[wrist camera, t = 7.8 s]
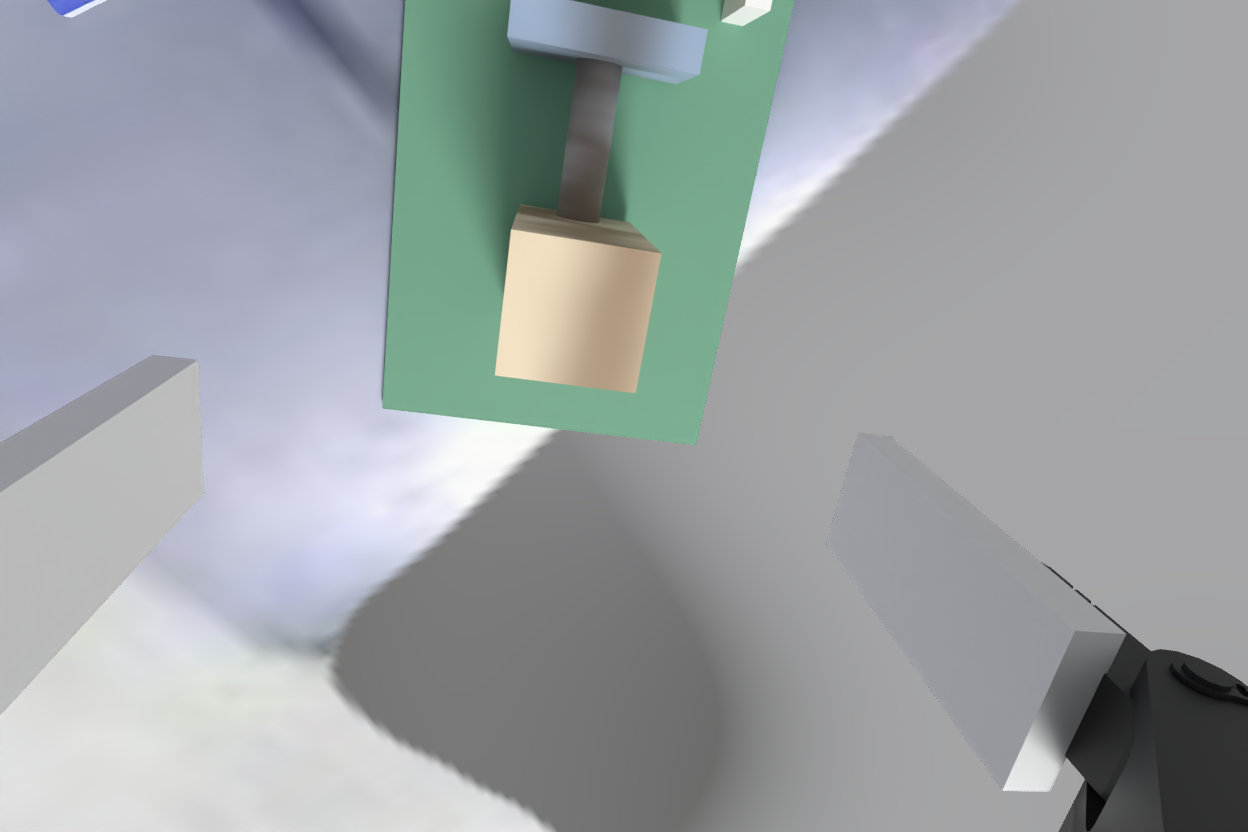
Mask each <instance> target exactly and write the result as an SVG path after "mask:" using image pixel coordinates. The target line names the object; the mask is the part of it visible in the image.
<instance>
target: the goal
mask: <svg viewBox="0 0 1248 832" xmlns="http://www.w3.org/2000/svg"><path fill="white" fill-rule="evenodd" d="M771 5H772V0H724V6H723V11H722V16H721V22H726V23H730V24H735V25H740V26H744V25H746V24H748V23H749V22H751V21H753V20H755V19H757V18H758V17H760V16H762V15H764V14H766V13H767V12H769V11H770V9H771Z"/></svg>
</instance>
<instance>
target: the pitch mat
mask: <svg viewBox="0 0 1248 832" xmlns="http://www.w3.org/2000/svg"><path fill="white" fill-rule="evenodd" d="M572 1H577V2H581V3H586V4H591V5H595V6H600V7H605V8H610V9H614V10H619V11H624V12H628V13H633V14H638V15H643V16H647V17H652V18H657V19H661V20H666V21H671V22H676V23H680V24H685V25H690V26H694V27H699V28H704V29H708V32H707V38H706V43H705V48H704V54H703V59H702V64H701V70H700V75H698V76H695V77H693V78H690V79H688V80H685V81H683V82H680V83H678V84H672V83H667V82H662V81H657V80H652V79H647V78H642V77H637V76H632V75H627V74H622V75H621V81H620V88H619V94H618V101H617V108H616V114H615V121H614V127H613V134H612V140H611V147H610V153H609V160H608V166H607V173H606V180H605V186H604V193H603V199H602V206H601V212H600V217H601V218H607V219H614V220H620V221H626V222H630V223H631V224H632V225H633V226H634V227H635V228H636V229H637V230H638V231H639V232H640V233H641V234H642V235H643V236H644V237H645V238H646V239H647V240H648V241H649V242H650V243H651V244H652V245H653V246H654V247H656V248H657V249H658V250H659V251H660V252H661V259H660V264H659V270H658V275H657V280H656V286H655V291H654V297H653V302H652V308H651V313H650V318H649V324H648V329H647V335H646V340H645V345H644V351H643V356H642V362H641V367H640V372H639V378H638V383H637V389H636V393H629V392H621V391H613V390H605V389H598V388H590V387H582V386H574V385H566V384H558V383H550V382H542V381H535V380H527V379H519V378H511V377H503V376H495V369H496V360H497V351H498V342H499V334H500V325H501V316H502V307H503V298H504V289H505V280H506V271H507V262H508V253H509V244H510V235H511V228H512V225H513V223H514V220H515V217H516V214H517V211H518V208H519V205H520V204H523V205H529V206H535V207H541V208H547V209H553V210H557V208H558V200H559V193H560V185H561V178H562V170H563V163H564V155H565V148H566V140H567V132H568V125H569V117H570V110H571V102H572V95H573V87H574V80H575V72H576V64H571V63H566V62H561V61H556V60H551V59H546V58H541V57H536V56H531V55H526V54H521V53H516V52H513V51H512V48H511V45H510V43H509V40H508V37H507V33H508V23H509V13H510V3H511V0H405V14H404V31H403V49H402V67H401V85H400V103H399V120H398V138H397V156H396V174H395V192H394V210H393V227H392V245H391V263H390V281H389V299H388V316H387V334H386V352H385V370H384V388H383V406H382V408H384V409H392V410H401V411H409V412H418V413H427V414H435V415H444V416H452V417H461V418H469V419H478V420H486V421H495V422H504V423H512V424H521V425H529V426H538V427H546V428H555V429H563V430H572V431H580V432H590V433H598V434H606V435H615V436H623V437H632V438H641V439H649V440H657V441H666V442H674V443H683V444H692V445H696V443H697V439H698V434H699V430H700V425H701V421H702V416H703V412H704V407H705V403H706V398H707V393H708V389H709V384H710V380H711V376H712V371H713V366H714V362H715V358H716V353H717V348H718V344H719V339H720V335H721V330H722V326H723V321H724V317H725V312H726V308H727V303H728V298H729V294H730V290H731V285H732V280H733V276H734V272H735V267H736V263H737V258H738V254H739V249H740V245H741V240H742V236H743V231H744V227H745V222H746V218H747V213H748V209H749V204H750V199H751V195H752V190H753V186H754V181H755V177H756V172H757V168H758V163H759V159H760V154H761V150H762V145H763V141H764V136H765V132H766V127H767V123H768V118H769V114H770V109H771V105H772V100H773V96H774V91H775V87H776V82H777V77H778V73H779V68H780V64H781V59H782V55H783V50H784V46H785V41H786V37H787V32H788V28H789V23H790V19H791V14H792V10H793V5H794V1H795V0H772V5H771V9H770V11H769V12H767V13H766V14H764V15H762V16H760V17H758V18H757V19H755V20H753V21H751V22H749V23H748V24H746V25H744V26H740V25H735V24H730V23H726V22H721V16H722V11H723V6H724V0H572Z"/></svg>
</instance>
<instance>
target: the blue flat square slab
mask: <svg viewBox="0 0 1248 832" xmlns="http://www.w3.org/2000/svg"><path fill="white" fill-rule="evenodd" d="M104 1H106V0H48V2H49V3H50V4H51V6H52V7H53V8H54V9H55V11H56V12H57V13H58V14H60V15H63V16H66V17H71V18H72V17H74V16H76V15H78V14H80V13H82V12H84V11H86V10H88V9H90V8H92V7H94V6H96V5H98V4H100V3H102V2H104Z"/></svg>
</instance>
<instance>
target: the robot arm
mask: <svg viewBox="0 0 1248 832" xmlns="http://www.w3.org/2000/svg"><path fill="white" fill-rule="evenodd" d="M203 494H204V476H203V455H202V435H201V414H200V393H199V372H198V360H193V359H184V358H175V357H166V356H157V355H152V356H150V357H148V358H147V359H145V360H143V361H141V362H140V363H138V364H136V365H134V366H133V367H131V368H129V369H127V370H126V371H124V372H122V373H121V374H119V375H117V376H115V377H114V378H112V379H110V380H108V381H107V382H105V383H103V384H102V385H100V386H98V387H96V388H95V389H93V390H91V391H89V392H88V393H86V394H84V395H82V396H81V397H79V398H77V399H76V400H74V401H72V402H70V403H69V404H67V405H65V406H63V407H62V408H60V409H58V410H56V411H55V412H53V413H51V414H50V415H48V416H46V417H44V418H43V419H41V420H39V421H37V422H36V423H34V424H32V425H30V426H29V427H27V428H25V429H24V430H22V431H20V432H18V433H17V434H15V435H13V436H11V437H10V438H8V439H6V440H4V441H3V442H1V443H0V715H1V714H2V713H3V712H4V711H5V710H6V709H7V708H8V706H9V705H10V704H11V703H12V702H13V701H14V700H15V699H16V698H17V697H18V696H19V694H20V693H21V692H22V691H23V690H24V689H25V688H26V687H27V686H28V685H29V684H30V683H31V681H32V680H33V679H34V678H35V677H36V676H37V675H38V674H39V673H40V672H41V671H42V669H43V668H44V667H45V666H46V665H47V664H48V663H49V662H50V661H51V660H52V659H53V657H54V656H55V655H56V654H57V653H58V652H59V651H60V650H61V649H62V648H63V647H64V645H65V644H66V643H67V642H68V641H69V640H70V639H71V638H72V637H73V636H74V635H75V634H76V632H77V631H78V630H79V629H80V628H81V627H82V626H83V625H84V624H85V623H86V622H87V620H88V619H89V618H90V617H91V616H92V615H93V614H94V613H95V612H96V611H97V610H98V608H99V607H100V606H101V605H102V604H103V603H104V602H105V601H106V600H107V599H108V598H109V596H110V595H111V594H112V593H113V592H114V591H115V590H116V589H117V588H118V587H119V586H120V585H121V583H122V582H123V581H124V580H125V579H126V578H127V577H128V576H129V575H130V574H131V573H132V571H133V570H134V569H135V568H136V567H137V566H138V565H139V564H140V563H141V562H142V561H143V559H144V558H145V557H146V556H147V555H148V554H149V553H150V552H151V551H152V550H153V549H154V547H155V546H156V545H157V544H158V543H159V542H160V541H161V540H162V539H163V538H164V537H165V536H166V534H167V533H168V532H169V531H170V530H171V529H172V528H173V527H174V526H175V525H176V524H177V522H178V521H179V520H180V519H181V518H182V517H183V516H184V515H185V514H186V513H187V512H188V510H189V509H190V508H191V507H192V506H193V505H194V504H195V503H196V502H197V501H198V500H199V498H200V497H201V496H202V495H203ZM826 545H827V547H828V548H829V549H830V551H831V552H832V554H833V555H834V556H835V558H836V559H837V561H838V562H839V563H840V565H841V566H842V568H843V569H844V570H845V572H846V573H847V575H848V576H849V577H850V579H851V580H852V581H853V583H854V584H855V586H856V587H857V588H858V590H859V591H860V593H861V594H862V595H863V597H864V598H865V600H866V601H867V602H868V604H869V605H870V607H871V608H872V609H873V611H874V612H875V614H876V615H877V616H878V618H879V619H880V620H881V622H882V623H883V624H884V626H885V628H886V629H887V630H888V632H889V633H890V635H891V636H892V637H893V639H894V640H895V642H896V643H897V644H898V646H899V647H900V648H901V650H902V651H903V653H904V654H905V655H906V657H907V658H908V659H909V661H910V662H911V664H912V665H913V667H914V668H915V669H916V671H917V672H918V673H919V675H920V676H921V678H922V679H923V681H924V682H925V683H926V685H927V686H928V688H929V689H930V690H931V692H932V693H933V695H934V696H935V697H936V699H937V700H938V702H939V703H940V704H941V706H942V707H943V708H944V710H945V711H946V713H947V714H948V715H949V717H950V718H951V720H952V721H953V722H954V724H955V725H956V727H957V728H958V729H959V731H960V732H961V734H962V735H963V736H964V738H965V739H966V740H967V742H968V743H969V745H970V746H971V747H972V749H973V750H974V752H975V753H976V755H977V756H978V757H979V759H980V760H981V761H982V763H983V764H984V766H985V767H986V768H987V770H988V771H989V773H990V774H991V775H992V777H993V778H994V780H995V781H996V782H997V784H998V785H999V787H1000V788H1001V789H1002V791H1047V792H1050V790H1051V788H1052V786H1053V784H1054V782H1055V780H1056V778H1057V776H1058V774H1059V771H1060V770H1061V767H1062V766H1063V764H1064V761H1065V759H1066V757H1067V758H1068V759H1069V761H1070V762H1071V763H1072V764H1073V765H1074V766H1075V768H1076V769H1077V770H1078V771H1079V772H1080V773H1081V774H1082V776H1083V777H1084V778H1085V781H1084V782H1083V784H1082V787H1081V789H1080V791H1079V793H1078V794H1077V796H1076V799H1075V800H1074V803H1073V804H1072V806H1071V808H1070V810H1069V812H1068V814H1067V816H1066V818H1065V820H1064V822H1063V824H1062V826H1061V828H1060V830H1059V832H1248V686H1246V685H1245V684H1244V683H1243V682H1241V681H1240V680H1238V679H1237V678H1235V677H1233V676H1232V675H1230V674H1228V673H1227V672H1225V671H1224V670H1222V669H1221V668H1218V667H1216V666H1214V665H1212V664H1210V663H1208V662H1205V661H1203V660H1201V659H1199V658H1196V657H1193V656H1190V655H1186V654H1184V653H1181V652H1177V651H1170V650H1162V649H1160V650H1155V651H1150V650H1149V649H1148V648H1146V647H1145V646H1144V645H1143V644H1142V643H1140V642H1139V641H1138V640H1137V639H1136V638H1134V637H1133V636H1132V635H1131V634H1129V633H1128V632H1127V631H1126V630H1125V629H1124V628H1122V627H1121V626H1120V625H1119V624H1117V623H1116V622H1115V621H1114V620H1113V619H1112V618H1110V617H1109V616H1108V615H1107V614H1105V613H1104V612H1103V611H1102V610H1101V609H1100V608H1098V607H1097V606H1096V605H1091V601H1090V600H1089V599H1088V598H1086V597H1085V596H1084V595H1083V594H1082V593H1080V592H1079V591H1078V590H1073V586H1072V585H1071V584H1070V583H1068V582H1067V581H1066V580H1065V579H1063V578H1062V577H1061V576H1060V575H1059V574H1057V573H1056V572H1055V571H1054V570H1053V569H1052V568H1050V567H1048V566H1046V565H1045V564H1043V563H1042V562H1040V561H1039V560H1038V559H1036V558H1035V557H1034V556H1033V555H1032V554H1030V553H1029V552H1028V551H1027V550H1026V549H1025V548H1023V547H1022V546H1021V545H1020V544H1018V543H1017V542H1016V541H1015V540H1014V539H1013V538H1011V537H1010V536H1009V535H1008V534H1007V533H1005V532H1004V531H1003V530H1002V529H1000V528H999V527H998V526H997V525H996V524H994V522H992V521H991V520H990V519H989V518H988V517H986V516H985V515H984V514H983V513H982V512H980V511H979V510H978V509H977V508H976V507H974V506H973V505H972V504H971V503H970V502H968V501H967V500H966V499H965V498H964V497H963V496H961V495H960V494H959V493H958V492H957V491H955V490H954V489H953V488H952V487H951V486H949V485H948V484H947V483H946V482H945V481H944V480H942V479H941V478H940V477H939V476H937V475H936V474H935V473H934V472H933V471H932V470H930V469H929V468H928V467H927V466H925V465H924V464H923V463H922V462H921V461H919V459H917V458H916V457H915V456H913V454H911V453H910V452H909V451H908V450H906V449H905V448H904V447H903V446H902V445H900V444H899V443H898V442H897V441H896V440H895V439H893V438H892V437H891V436H882V435H873V434H864V433H858V436H857V439H856V442H855V446H854V449H853V453H852V456H851V459H850V463H849V466H848V470H847V473H846V476H845V480H844V483H843V486H842V490H841V494H840V497H839V500H838V503H837V507H836V510H835V514H834V517H833V520H832V524H831V527H830V531H829V534H828V537H827V541H826Z"/></svg>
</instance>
